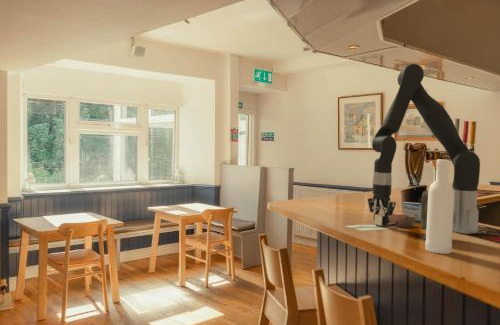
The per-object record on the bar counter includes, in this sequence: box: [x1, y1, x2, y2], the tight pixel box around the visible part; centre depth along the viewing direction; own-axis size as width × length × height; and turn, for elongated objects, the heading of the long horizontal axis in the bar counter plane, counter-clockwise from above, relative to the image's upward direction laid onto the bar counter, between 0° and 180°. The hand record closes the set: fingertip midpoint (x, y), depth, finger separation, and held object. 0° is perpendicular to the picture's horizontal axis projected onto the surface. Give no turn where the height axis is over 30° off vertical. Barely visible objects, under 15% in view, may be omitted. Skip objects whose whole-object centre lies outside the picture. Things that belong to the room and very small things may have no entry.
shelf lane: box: [345, 215, 417, 232], centre depth 178 cm, size 11×30×4 cm, turn 119°
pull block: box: [373, 211, 406, 227], centre depth 180 cm, size 5×14×5 cm, turn 119°
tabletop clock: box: [419, 189, 454, 241], centre depth 157 cm, size 14×9×25 cm, turn 147°
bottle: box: [424, 158, 454, 255], centre depth 138 cm, size 8×8×30 cm
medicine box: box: [401, 201, 421, 223], centre depth 197 cm, size 8×4×9 cm, turn 62°
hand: (380, 223), depth 178 cm, fingers closed on pull block, 4 cm apart
